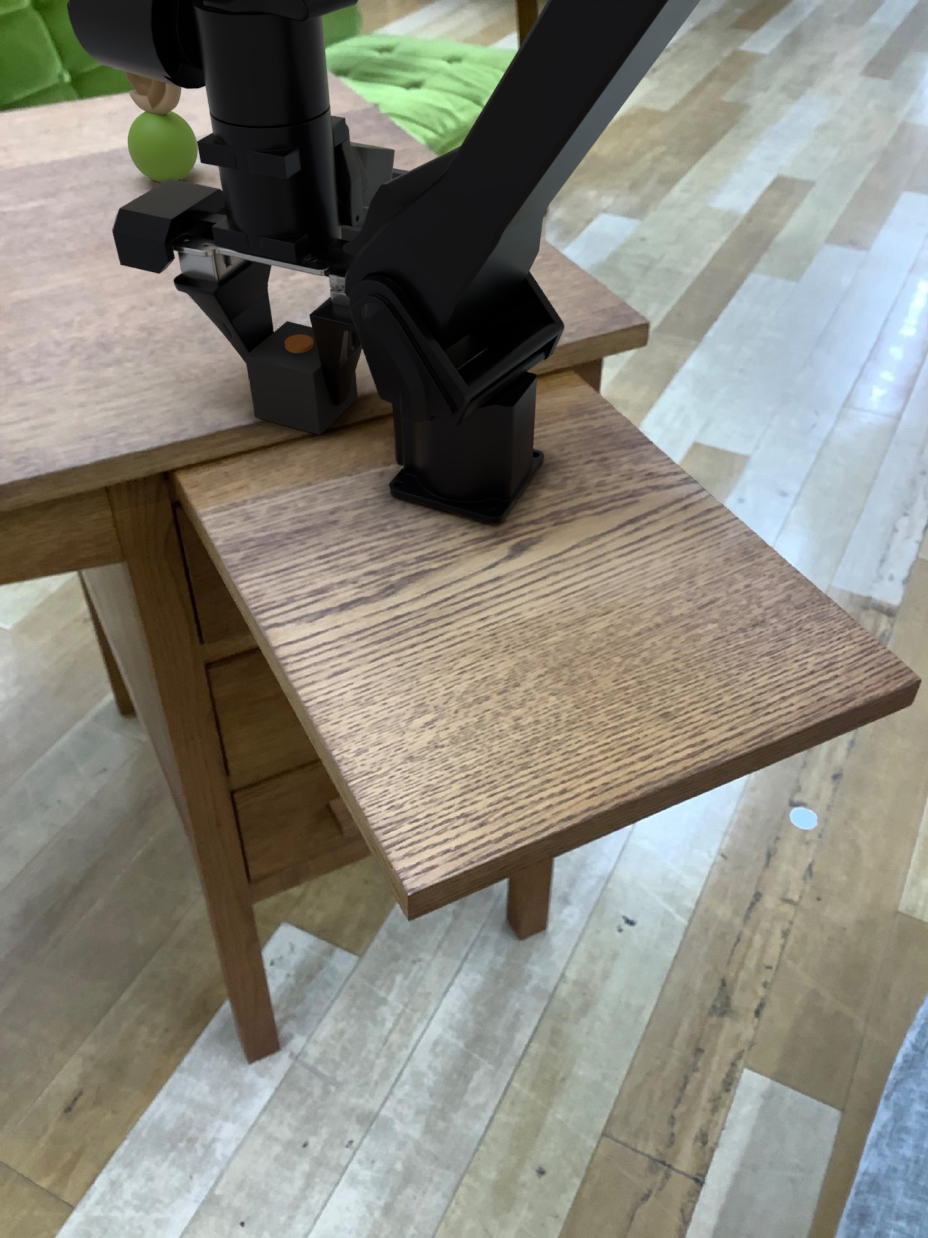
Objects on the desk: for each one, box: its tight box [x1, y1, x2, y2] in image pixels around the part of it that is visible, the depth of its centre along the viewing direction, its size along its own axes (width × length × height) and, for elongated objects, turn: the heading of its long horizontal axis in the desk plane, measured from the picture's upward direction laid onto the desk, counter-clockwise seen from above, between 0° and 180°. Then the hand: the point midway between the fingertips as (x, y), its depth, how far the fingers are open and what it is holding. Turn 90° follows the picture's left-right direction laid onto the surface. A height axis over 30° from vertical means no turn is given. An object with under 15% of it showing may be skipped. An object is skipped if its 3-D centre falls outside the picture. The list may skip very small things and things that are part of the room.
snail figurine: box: [123, 71, 199, 183], centre depth 81 cm, size 5×6×12 cm
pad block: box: [245, 320, 359, 436], centre depth 59 cm, size 4×4×4 cm
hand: (305, 392), depth 60 cm, fingers closed on pad block, 4 cm apart
